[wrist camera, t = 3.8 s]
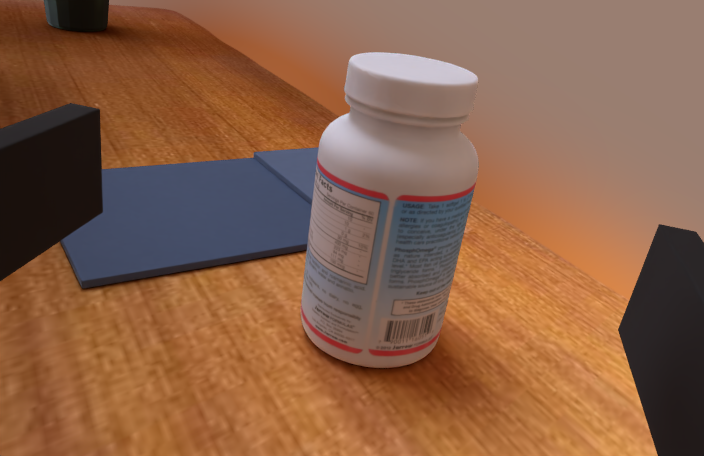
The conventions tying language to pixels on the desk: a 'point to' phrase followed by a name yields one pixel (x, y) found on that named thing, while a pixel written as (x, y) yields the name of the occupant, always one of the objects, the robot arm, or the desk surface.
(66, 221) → the robot arm
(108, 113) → the desk surface
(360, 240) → the pill bottle
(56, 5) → the potion bottle
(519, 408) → the desk surface
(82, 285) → the notebook
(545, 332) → the desk surface
